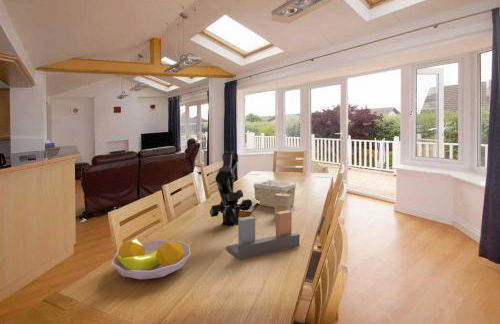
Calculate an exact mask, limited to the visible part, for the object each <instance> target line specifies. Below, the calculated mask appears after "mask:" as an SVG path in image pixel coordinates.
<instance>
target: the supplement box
mask: <svg viewBox="0 0 500 324" xmlns="http://www.w3.org/2000/svg"><path fill="white" fill-rule="evenodd" d="M286 210H288V211H290V212H292V206H291V195H289V194H280V193H278V194H275V208H274V218H276V212H280V211H286Z"/></svg>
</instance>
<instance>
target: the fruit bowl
mask: <svg viewBox="0 0 500 324" xmlns="http://www.w3.org/2000/svg"><path fill="white" fill-rule="evenodd" d="M190 248H191V247H190V245H189V244H187V243H184V242H182V241H178V240H176V239H175V240H174V239H170V240H169V239H154V240H148V241H145V242H140V240H138V238H135V239H131V240H125V241H124V242H123V243H122V244H121V246H119V248H118V252H116V253H115V254H114V257H113V259H112V261H111V265H112V266H113V267H114V268H115V269H116V271H117V272H118V273H119V274H120V275H121V276H122V277H125V278H132V279H136V280H151V279H157V278H163V277H165V276H167V275H169V274H171V273H173V272H177V270H180V269H182V268H183V267H184V266H185V264H186V263H187V260H188V259H189V258H190V257H191V255H192V254H191V253H192V252H191V249H190Z"/></svg>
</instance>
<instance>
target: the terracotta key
mask: <svg viewBox="0 0 500 324" xmlns="http://www.w3.org/2000/svg"><path fill="white" fill-rule="evenodd" d="M289 234H292V211H291V212H290V211H288V210H286V211H280V212H276V217H275V236H276V237H280V236H284V235H289Z"/></svg>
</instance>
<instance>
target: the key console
mask: <svg viewBox="0 0 500 324" xmlns="http://www.w3.org/2000/svg"><path fill="white" fill-rule="evenodd" d="M300 236H301V235H300V233H297V232H295V233H291V234H289V235H284V236H280V237H276V235H272V236H268V237H263V238H258V239H255V242H251V243H247V244H242V245H239V243H235V244H230V245H226V247H225V248H226V249H227V250H228V251H229V252H231V254H233V255H234V256H235V257H236V258H237V259H238V260H239V261H240V260H245V259H249V258H255V257H258V256H261V255H267V254H270V253H274V252H279V251H283V250H286V249H290V248H291V249H292V248H295V247H299V246H300Z"/></svg>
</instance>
